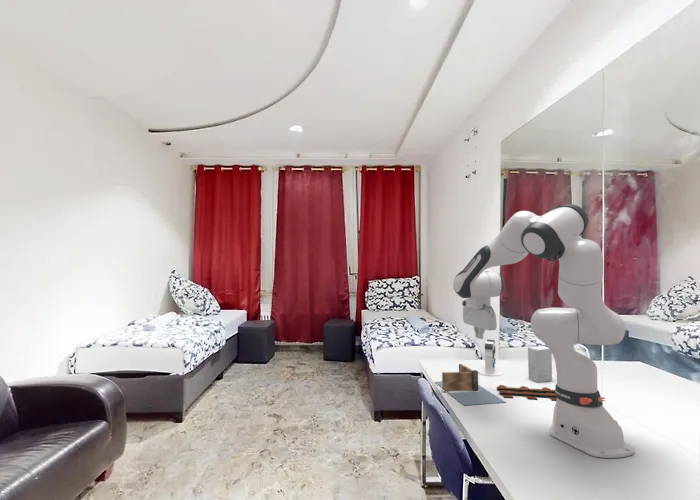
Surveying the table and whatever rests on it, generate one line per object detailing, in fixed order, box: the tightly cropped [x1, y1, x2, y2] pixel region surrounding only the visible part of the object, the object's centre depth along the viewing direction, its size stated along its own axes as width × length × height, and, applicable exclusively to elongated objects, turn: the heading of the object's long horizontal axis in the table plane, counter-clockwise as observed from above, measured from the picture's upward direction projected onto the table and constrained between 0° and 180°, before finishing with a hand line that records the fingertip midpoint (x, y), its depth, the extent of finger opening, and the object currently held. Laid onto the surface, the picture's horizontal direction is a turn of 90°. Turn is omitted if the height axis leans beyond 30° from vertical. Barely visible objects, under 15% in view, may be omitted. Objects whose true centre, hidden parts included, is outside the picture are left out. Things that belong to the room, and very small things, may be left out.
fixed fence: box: [458, 363, 479, 391], centre depth 167 cm, size 15×2×8 cm, turn 10°
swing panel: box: [441, 371, 472, 391], centre depth 161 cm, size 12×1×7 cm, turn 91°
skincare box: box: [527, 345, 553, 383], centre depth 175 cm, size 8×6×15 cm
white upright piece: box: [477, 339, 503, 377], centre depth 187 cm, size 12×11×15 cm
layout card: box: [434, 380, 507, 407], centre depth 160 cm, size 28×17×1 cm, turn 10°
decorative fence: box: [496, 384, 557, 402], centre depth 158 cm, size 23×2×15 cm
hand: (479, 338), depth 156 cm, fingers closed
